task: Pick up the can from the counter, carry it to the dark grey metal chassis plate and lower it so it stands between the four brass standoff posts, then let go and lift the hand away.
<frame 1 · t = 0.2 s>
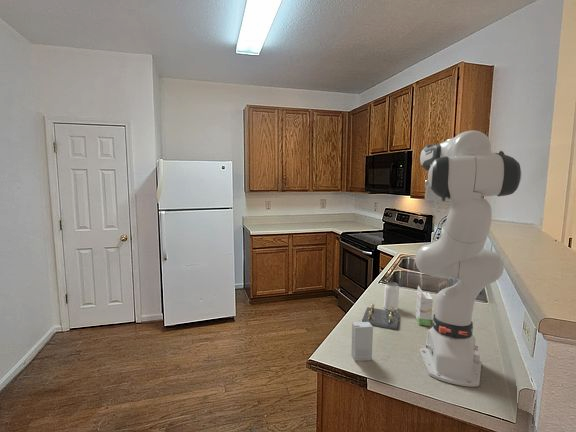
hand: (450, 212, 133), 47 cm above the worktop, tool pointing down, fingers open, 8 cm apart
can: (390, 308, 152), on the worktop
ink box: (422, 321, 139), on the worktop
skincare box: (361, 358, 109), on the worktop
chassis: (380, 319, 140), on the worktop
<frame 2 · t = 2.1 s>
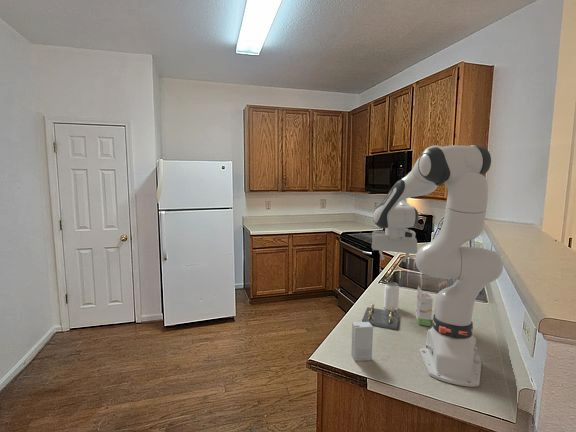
hand: (393, 260, 150), 23 cm above the worktop, tool pointing down, fingers open, 8 cm apart
nothing on the worktop moved.
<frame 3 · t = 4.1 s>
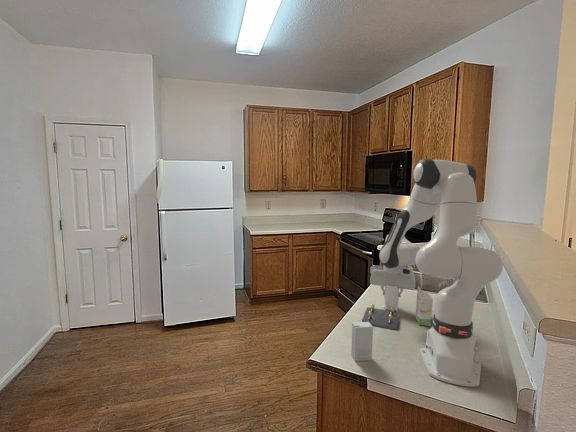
hand: (391, 295, 152), 6 cm above the worktop, tool pointing down, fingers closed on can, 5 cm apart
can: (390, 308, 152), on the worktop, touching gripper
everything else where it was.
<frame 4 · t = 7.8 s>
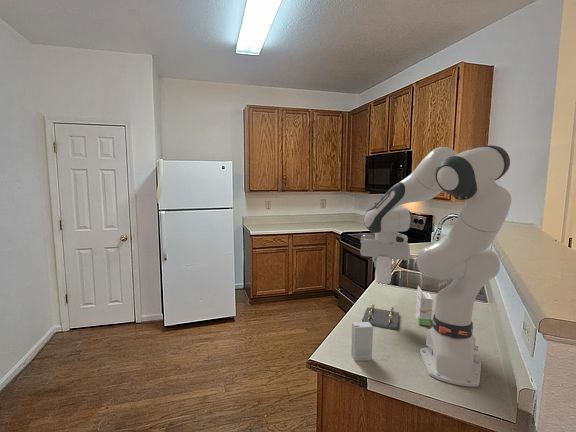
hand: (383, 267, 137), 23 cm above the worktop, tool pointing down, fingers closed on can, 5 cm apart
can: (382, 282, 138), point 17 cm above the worktop, touching gripper
everything else where it was.
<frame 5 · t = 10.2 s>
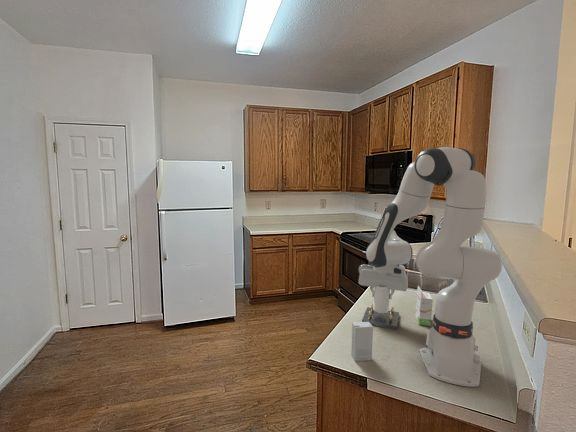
hand: (381, 297, 139), 10 cm above the worktop, tool pointing down, fingers closed on can, 5 cm apart
can: (380, 311, 140), point 3 cm above the worktop, touching gripper
everything else where it was.
when the fingers open (8 cm above the worktop, at t = 11.9 s): can stays where it is, resting on chassis.
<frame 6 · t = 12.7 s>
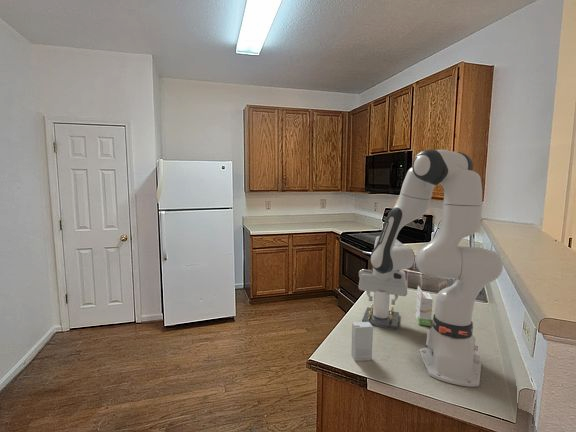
hand: (381, 302, 139), 8 cm above the worktop, tool pointing down, fingers open, 8 cm apart
can: (380, 316, 140), point 1 cm above the worktop, touching chassis
everything else where it was.
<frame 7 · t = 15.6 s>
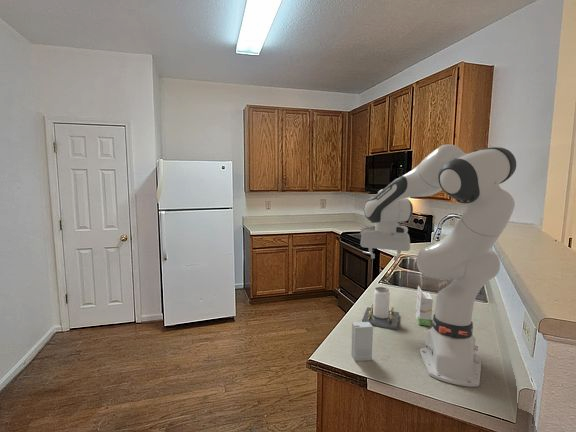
hand: (384, 259, 137), 27 cm above the worktop, tool pointing down, fingers open, 8 cm apart
nothing on the worktop moved.
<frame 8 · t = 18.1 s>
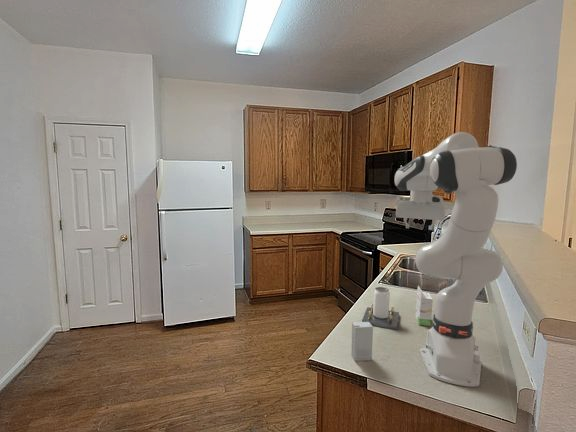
hand: (418, 228, 142), 39 cm above the worktop, tool pointing down, fingers open, 8 cm apart
nothing on the worktop moved.
at the end: can 0.2 cm off-centre on the chassis, point 1.3 cm above the chassis's base; can tilted 0°; the gripper is holding nothing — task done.
